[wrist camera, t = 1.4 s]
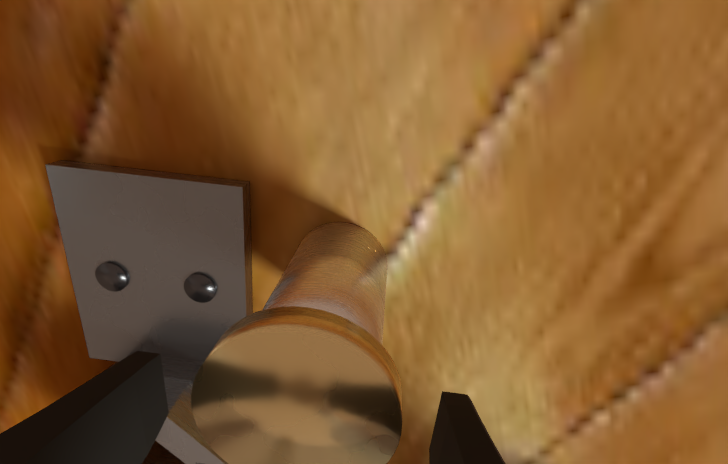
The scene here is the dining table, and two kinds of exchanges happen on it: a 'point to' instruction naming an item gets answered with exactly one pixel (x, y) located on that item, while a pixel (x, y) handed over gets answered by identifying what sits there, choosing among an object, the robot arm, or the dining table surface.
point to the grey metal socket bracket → (157, 275)
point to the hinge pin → (308, 364)
